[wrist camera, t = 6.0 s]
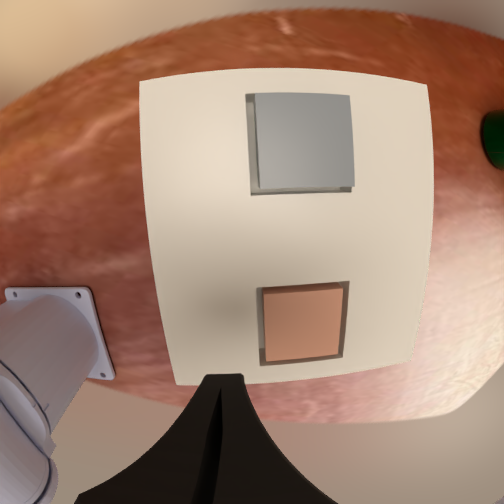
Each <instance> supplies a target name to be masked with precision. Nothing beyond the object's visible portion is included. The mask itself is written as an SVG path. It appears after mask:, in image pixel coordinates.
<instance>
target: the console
mask: <svg viewBox="0 0 504 504" xmlns="http://www.w3.org/2000/svg"><path fill="white" fill-rule="evenodd" d="M273 92H294V93H324V94H340V95H350V105H351V116H352V130H353V147H354V172H355V187H296V188H269V189H260V188H259V187H258V177H257V158H256V140H255V122H254V104H253V102H254V96H255V93H273ZM140 140H141V160H142V175H143V188H144V200H145V210H146V219H147V228H148V236H149V244H150V252H151V259H152V266H153V272H154V279H155V285H156V291H157V297H158V302H159V308H160V313H161V318H162V323H163V328H164V333H165V338H166V343H167V347H168V352H169V356H170V360H171V365H172V369H173V373H174V377H175V381H176V385H200V383H201V382H202V380H203V378H204V376H205V375H206V374H232V373H241V374H242V375H244V382H245V384H257V383H272V382H284V381H294V380H303V379H312V378H320V377H328V376H335V375H341V374H348V373H354V372H360V371H365V370H371V369H376V368H381V367H386V366H391V365H395V364H400V363H404V362H409V361H411V359H412V355H413V351H414V346H415V342H416V338H417V333H418V328H419V324H420V318H421V313H422V308H423V302H424V296H425V290H426V283H427V276H428V268H429V259H430V249H431V238H432V223H433V200H434V164H433V141H432V127H431V116H430V106H429V98H428V91H427V85H425V84H420V83H416V82H411V81H406V80H401V79H395V78H390V77H384V76H377V75H370V74H363V73H354V72H345V71H334V70H321V69H300V68H253V69H232V70H219V71H208V72H198V73H190V74H182V75H175V76H168V77H162V78H156V79H151V80H146V81H140ZM328 282H338V283H339V284H340V285H341V287H342V288H343V297H342V311H341V323H340V335H339V345H338V354H334V355H326V356H318V357H309V358H300V359H290V360H278V361H266V356H265V348H264V331H263V308H262V287H274V286H288V285H302V284H315V283H328Z"/></svg>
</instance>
